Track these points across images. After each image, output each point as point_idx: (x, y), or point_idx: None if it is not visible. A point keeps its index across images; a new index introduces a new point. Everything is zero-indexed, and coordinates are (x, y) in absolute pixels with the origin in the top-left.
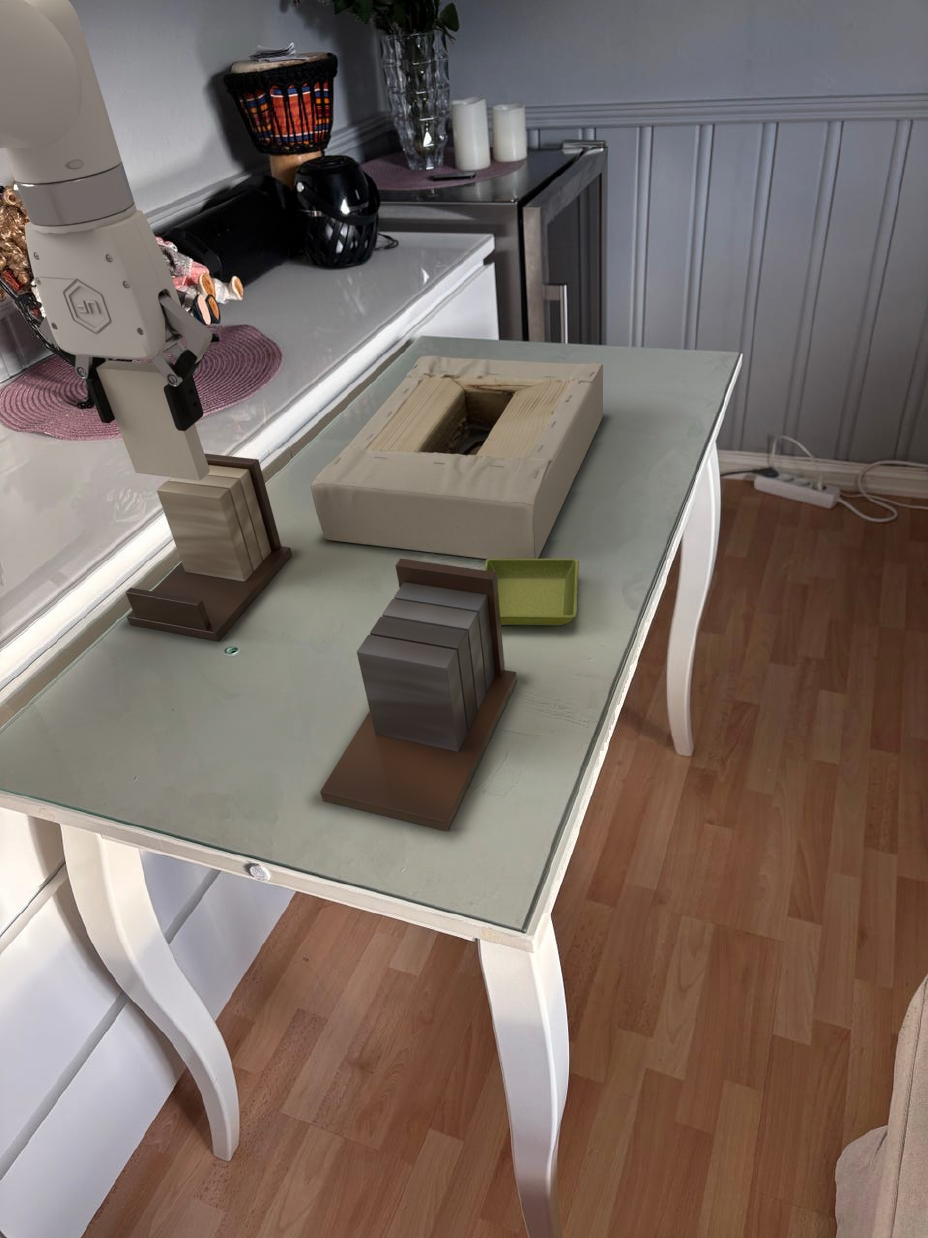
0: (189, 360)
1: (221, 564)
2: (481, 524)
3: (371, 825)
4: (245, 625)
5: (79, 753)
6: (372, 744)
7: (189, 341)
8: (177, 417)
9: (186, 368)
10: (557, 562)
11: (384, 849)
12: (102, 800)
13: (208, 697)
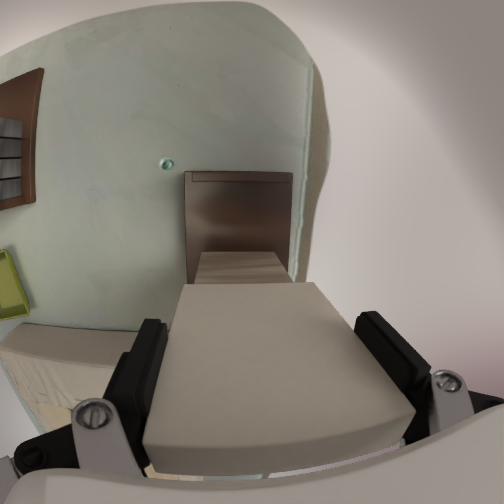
0: (21, 451)
1: (224, 256)
2: (34, 342)
3: (20, 72)
4: (173, 200)
5: (229, 31)
6: (22, 112)
7: (1, 494)
8: (139, 335)
9: (50, 439)
10: (2, 317)
11: (13, 65)
12: (183, 8)
13: (155, 106)
